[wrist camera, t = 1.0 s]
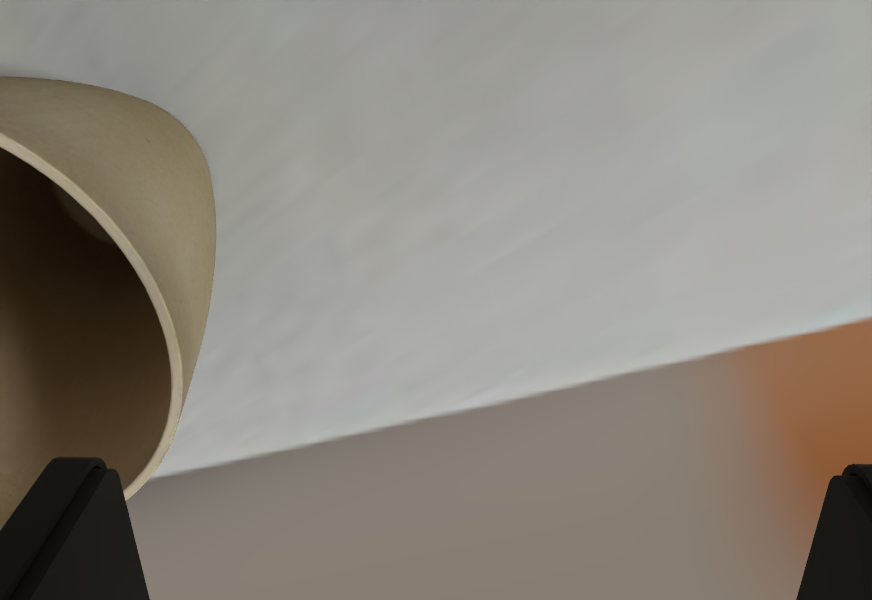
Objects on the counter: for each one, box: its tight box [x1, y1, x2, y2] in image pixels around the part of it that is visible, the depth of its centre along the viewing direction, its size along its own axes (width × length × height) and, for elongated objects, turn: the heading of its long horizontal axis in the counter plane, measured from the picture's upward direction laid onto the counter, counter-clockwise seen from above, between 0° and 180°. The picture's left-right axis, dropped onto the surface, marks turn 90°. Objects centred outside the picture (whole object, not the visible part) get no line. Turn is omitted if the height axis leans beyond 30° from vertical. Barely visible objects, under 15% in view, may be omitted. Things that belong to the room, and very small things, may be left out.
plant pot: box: [0, 77, 216, 530], centre depth 30 cm, size 15×15×16 cm
